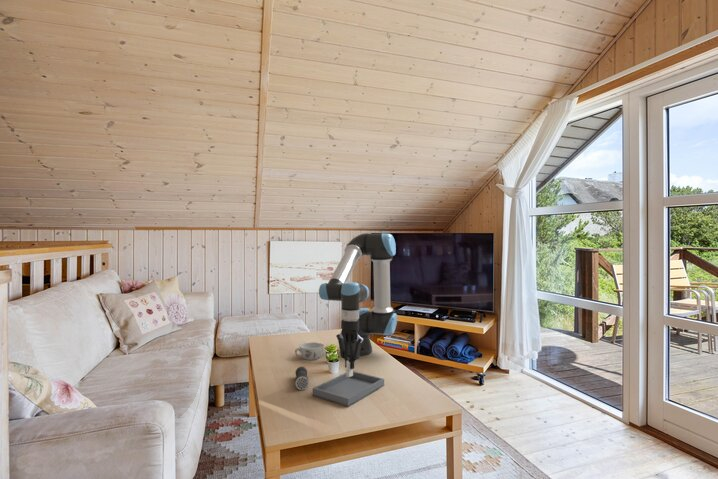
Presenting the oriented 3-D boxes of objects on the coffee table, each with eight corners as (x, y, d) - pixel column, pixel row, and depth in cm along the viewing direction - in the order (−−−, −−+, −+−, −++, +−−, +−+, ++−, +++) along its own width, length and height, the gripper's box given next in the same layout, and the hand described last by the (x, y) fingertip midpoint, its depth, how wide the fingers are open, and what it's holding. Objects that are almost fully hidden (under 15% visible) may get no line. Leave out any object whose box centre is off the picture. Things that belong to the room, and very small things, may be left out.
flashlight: (303, 379, 173) (293, 374, 173) (308, 368, 174) (298, 363, 173) (305, 391, 158) (293, 387, 157) (310, 379, 159) (298, 374, 158)
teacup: (321, 355, 206) (321, 341, 206) (325, 362, 194) (325, 347, 194) (293, 358, 202) (293, 343, 202) (296, 365, 190) (296, 349, 190)
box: (350, 377, 174) (350, 370, 174) (384, 385, 164) (384, 378, 164) (312, 395, 153) (312, 388, 153) (348, 406, 142) (348, 398, 142)
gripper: (332, 319, 159) (331, 375, 159) (357, 322, 152) (357, 382, 151) (343, 316, 165) (342, 370, 165) (368, 320, 158) (367, 376, 158)
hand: (349, 376), depth 158 cm, fingers closed
